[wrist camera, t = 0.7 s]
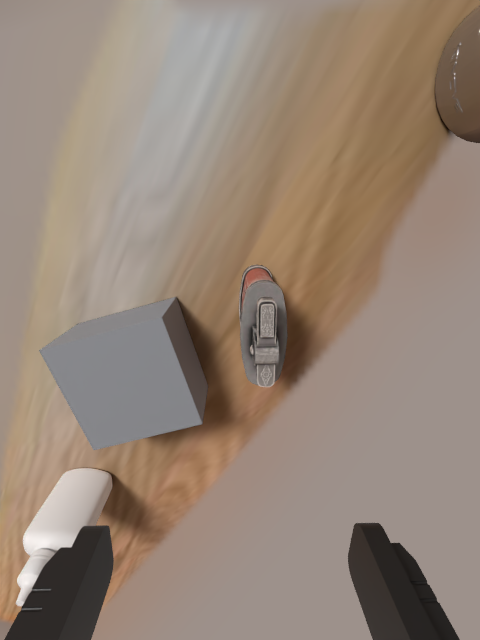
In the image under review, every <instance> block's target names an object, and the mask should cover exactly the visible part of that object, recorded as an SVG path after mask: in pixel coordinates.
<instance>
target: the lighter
mask: <svg viewBox="0 0 480 640" xmlns="http://www.w3.org/2000/svg"><path fill="white" fill-rule="evenodd" d="M239 316H240V327H241V328H240V339H241V351H242V359H243V364H244V368H245V372H246V376H247V378H248V380H249V381H250V382H251V383H253V384H256V385H259V386H261V387H271V386H272V385H273V384H274V382H276V381H277V380H278V379H279V377H280V374H281V371H282V367H283V363H284V359H285V352H286V344H287V314H286V308H285V302H284V296H283V293H282V290H281V288H280V287H279V286H278V285H277V284H276V283H275V282H273V279H272V275H271V273H270V271H269V270H268V269H267V268H266V267H264V266H262V265H252V266H250V267H248V268H247V269H246V270H245V271H244V273H243V276H242V282H241V287H240V297H239Z"/></svg>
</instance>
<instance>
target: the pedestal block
mask: <svg viewBox="0 0 480 640" xmlns="http://www.w3.org/2000/svg"><path fill="white" fill-rule="evenodd" d="M39 351H40V353H41V355H42V357H43V359H44V360H45V362H46V364H47V366H48V368H49V370H50V371H51V373H52V375H53V377H54V379H55V380H56V382H57V384H58V386H59V388H60V390H61V391H62V393H63V395H64V397H65V399H66V401H67V402H68V404H69V406H70V408H71V410H72V412H73V413H74V415H75V417H76V419H77V421H78V423H79V424H80V426H81V428H82V430H83V432H84V434H85V435H86V437H87V439H88V441H89V443H90V445H91V446H92V448H93V450H97V449H101V448H105V447H109V446H114V445H118V444H122V443H126V442H130V441H134V440H138V439H143V438H147V437H151V436H155V435H159V434H163V433H167V432H172V431H176V430H180V429H184V428H188V427H192V426H197V425H201V424H202V423H203V417H204V410H205V404H206V397H207V391H208V384H207V382H206V379H205V376H204V373H203V370H202V367H201V365H200V362H199V359H198V356H197V353H196V351H195V348H194V345H193V342H192V339H191V337H190V334H189V331H188V328H187V325H186V322H185V320H184V317H183V314H182V311H181V308H180V306H179V303H178V300H177V297H174V298H170V299H167V300H163V301H159V302H156V303H152V304H148V305H145V306H141V307H138V308H134V309H130V310H127V311H123V312H119V313H116V314H112V315H108V316H105V317H101V318H97V319H94V320H90V321H86V322H83V323H79V324H77V325H75V326H74V327H72V328H71V329H69V330H68V331H67V332H65V333H64V334H62V335H61V336H59V337H58V338H56V339H55V340H54V341H52V342H51V343H49V344H48V345H46V346H45V347H43V348H42V349H40V350H39Z"/></svg>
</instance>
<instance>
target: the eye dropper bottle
mask: <svg viewBox="0 0 480 640" xmlns="http://www.w3.org/2000/svg"><path fill="white" fill-rule="evenodd" d="M111 490H112V477H111V474H109V473H108V472H105V471H102V470H99V469H93V468H78V469H73V470H70V471H67V472H65V473H64V474H63V475H62V477H61V478H60V480H59V481H58V483H57V484H56V486H55V487H54V489H53V490H52V492H51V493H50V495H49V496H48V498H47V499H46V501H45V502H44V504H43V505H42V507H41V508H40V510H39V511H38V513H37V515H36V516H35V518H34V519H33V521H32V522H31V524H30V525H29V527H28V529H27V530H26V532H25V534H24V537H23V545H24V549H25V551H26V552H27V554H29V555H30V558H29V560H28V561H27V563H26V565H25V566H24V568H23V570H22V571H21V573H20V575H19V576H18V579H17V583H18V585H19V587H20V588H21V591H20V593H19V596H18V599H17V601H16V604H17V605H18V606H23V604H24V602H25V600H26V598H27V597H28V595H29V593H31V591H32V587H33V585H34V583H35V582H36V580H37V578H38V576H39V574H40V572H41V570H42V569H43V567H44V565H45V564H46V563H47V562H48V561H49V560H50V559H51V558H52V557H53V555H54V554H55V553H56V552H57V551H58V550H59V549H60V548H61V547H72V545H73V543H74V541H75V539H76V537H77V535H78V533H79V531H80V529H81V528H82V527H83V526H95V525H96V523H97V521H98V519H99V516H100V514H101V512H102V510H103V508H104V505H105V503H106V501H107V499H108V496H109V494H110V492H111Z"/></svg>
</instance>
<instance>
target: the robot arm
mask: <svg viewBox="0 0 480 640" xmlns="http://www.w3.org/2000/svg"><path fill="white" fill-rule="evenodd" d="M435 95H436V102H437V107H438V110H439V113H440V116H441V118H442V120H443V121H444V123H445V124H446V126H447V127H448V129H449V130H450V131H452V132H453V133H454V134H455V135H456V136H458V137H460V138H462V139H464V140H466V141H470V142H476V143H480V6H478V7H477V8H476V9H475V10H474V11H473V12H471V13H470V14H469V15H468V16H467V17H466V18H465V19H464V20H463V21H462V22H461V24H460V25H459V26H458V27H457V28H456V30H455V31H454V32H453V34H452V36H451V37H450V39H449V41H448V42H447V44H446V46H445V48H444V51H443V53H442V56H441V58H440V61H439V65H438V70H437V74H436V84H435ZM348 564H349V570H350V574H351V578H352V581H353V584H354V587H355V590H356V592H357V595H358V598H359V601H360V604H361V607H362V610H363V613H364V615H365V618H366V621H367V624H368V627H369V630H370V633H371V636H372V638H373V640H459V638H458V636H457V634H456V632H455V630H454V629H453V627H452V625H451V623H450V622H449V620H448V618H447V616H446V614H445V612H444V611H443V609H442V607H441V605H440V603H438V602H437V598H436V596H435V594H434V593H433V591H432V589H431V588H430V585H428V584H427V580H426V578H425V577H424V575H423V573H422V571H421V569H420V568H419V566H418V564H417V562H416V560H415V559H414V558H413V557H412V556H411V555H410V554H409V553H408V552H407V551H406V550H405V548H403V546H402V545H401V544H400V543H390V541H389V539H388V537H387V535H386V533H385V531H384V529H383V528H382V526H381V525H380V524H379V523H356V524H355V525H354V529H353V534H352V538H351V543H350V548H349V553H348ZM112 570H113V551H112V543H111V536H110V529H109V526H83V527H82V528H81V529H80V531H79V533H78V535H77V537H76V539H75V541H74V543H73V545H72V547H61V548H60V549H59V550H58V551H57V552H56V553H55V554H54V555H53V557H52V558H51V559H50V560H49V561H48V562H47V563H46V564H45V565H44V567H43V569H42V570H41V572H40V574H39V576H38V578H37V580H36V582H35V583H34V585H33V587H32V591H31V593H29V595H28V597H27V598H26V600H25V602H24V604H23V606H22V609H21V612H19V613H18V615H17V617H16V619H15V621H14V623H13V624H12V626H11V628H10V630H9V632H8V634H7V636H6V638H5V640H91V638H92V635H93V632H94V629H95V625H96V623H97V620H98V617H99V614H100V611H101V608H102V605H103V602H104V598H105V595H106V592H107V589H108V586H109V583H110V580H111V576H112Z"/></svg>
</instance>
